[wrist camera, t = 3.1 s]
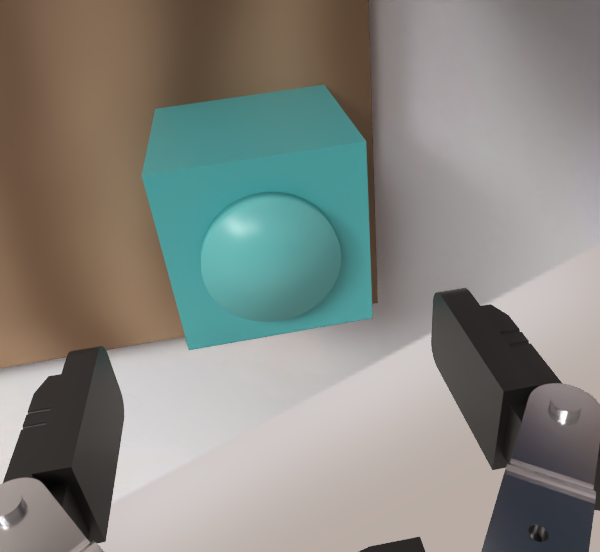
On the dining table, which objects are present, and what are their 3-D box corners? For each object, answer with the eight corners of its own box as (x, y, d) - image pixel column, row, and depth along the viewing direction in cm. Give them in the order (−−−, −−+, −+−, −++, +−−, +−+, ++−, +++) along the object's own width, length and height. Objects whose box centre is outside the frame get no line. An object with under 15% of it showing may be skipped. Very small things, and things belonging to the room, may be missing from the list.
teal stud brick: (324, 84, 20) (372, 149, 15) (335, 231, 24) (377, 329, 18) (155, 109, 20) (139, 184, 14) (190, 255, 23) (188, 362, 18)
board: (356, -53, 19) (411, -40, 14) (369, 284, 27) (408, 369, 22) (-434, 47, 18) (-683, 101, 13) (-180, 378, 25) (-273, 493, 20)
